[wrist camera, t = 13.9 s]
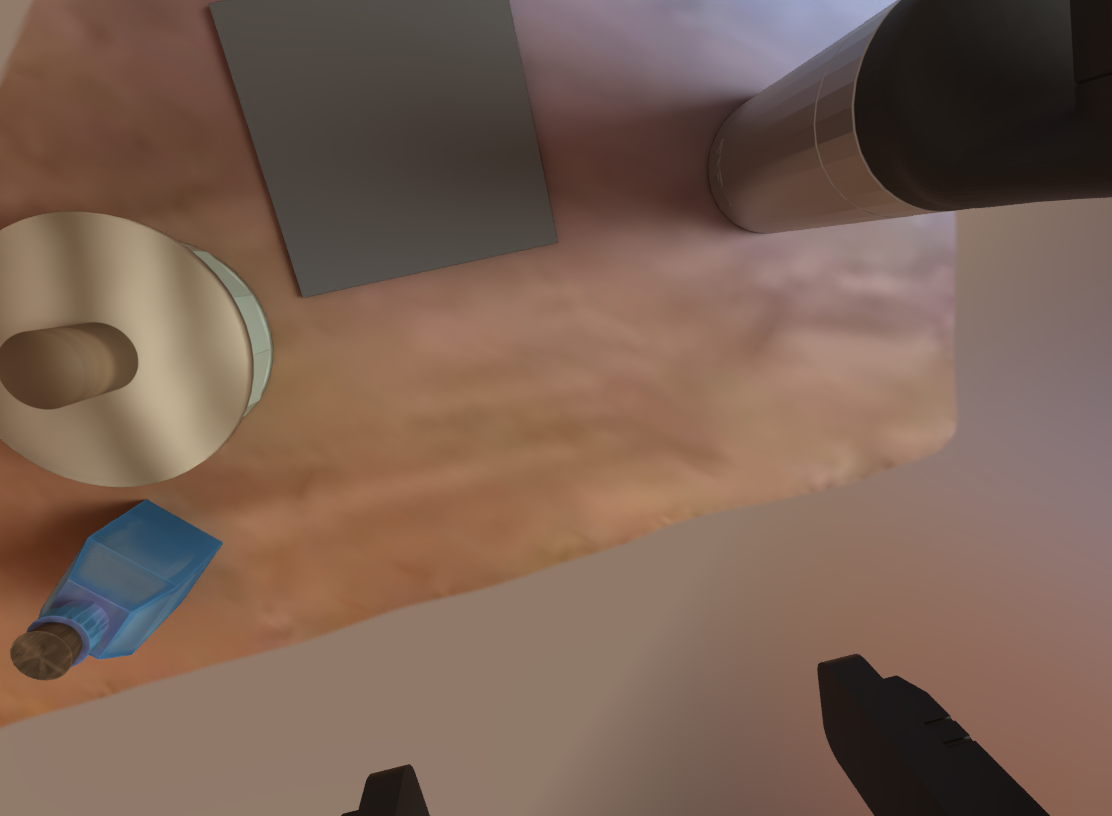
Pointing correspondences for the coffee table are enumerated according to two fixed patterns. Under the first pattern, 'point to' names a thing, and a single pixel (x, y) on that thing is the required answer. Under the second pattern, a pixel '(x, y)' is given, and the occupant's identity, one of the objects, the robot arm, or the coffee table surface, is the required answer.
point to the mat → (388, 133)
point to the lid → (116, 350)
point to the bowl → (252, 318)
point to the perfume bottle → (115, 591)
